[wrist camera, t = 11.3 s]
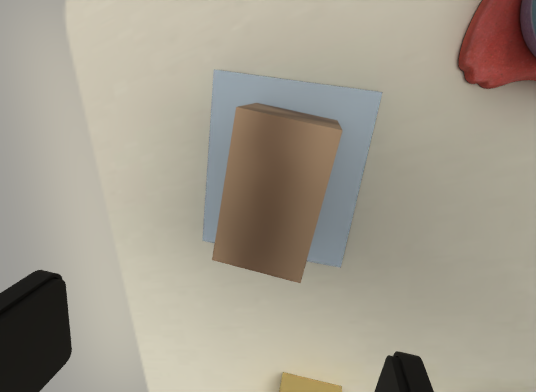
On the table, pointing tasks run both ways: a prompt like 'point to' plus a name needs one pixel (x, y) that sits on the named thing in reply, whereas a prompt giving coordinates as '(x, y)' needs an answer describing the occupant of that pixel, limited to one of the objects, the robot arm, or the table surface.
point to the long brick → (274, 188)
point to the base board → (310, 102)
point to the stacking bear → (500, 43)
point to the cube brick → (305, 385)
